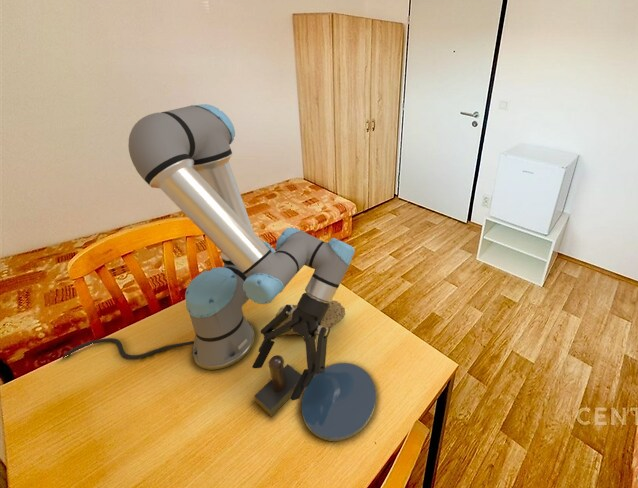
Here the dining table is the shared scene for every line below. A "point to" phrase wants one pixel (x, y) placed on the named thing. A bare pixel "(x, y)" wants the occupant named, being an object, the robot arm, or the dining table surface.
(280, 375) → the stamp
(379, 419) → the dining table surface
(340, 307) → the sponge
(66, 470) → the dining table surface
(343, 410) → the plate
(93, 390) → the dining table surface
